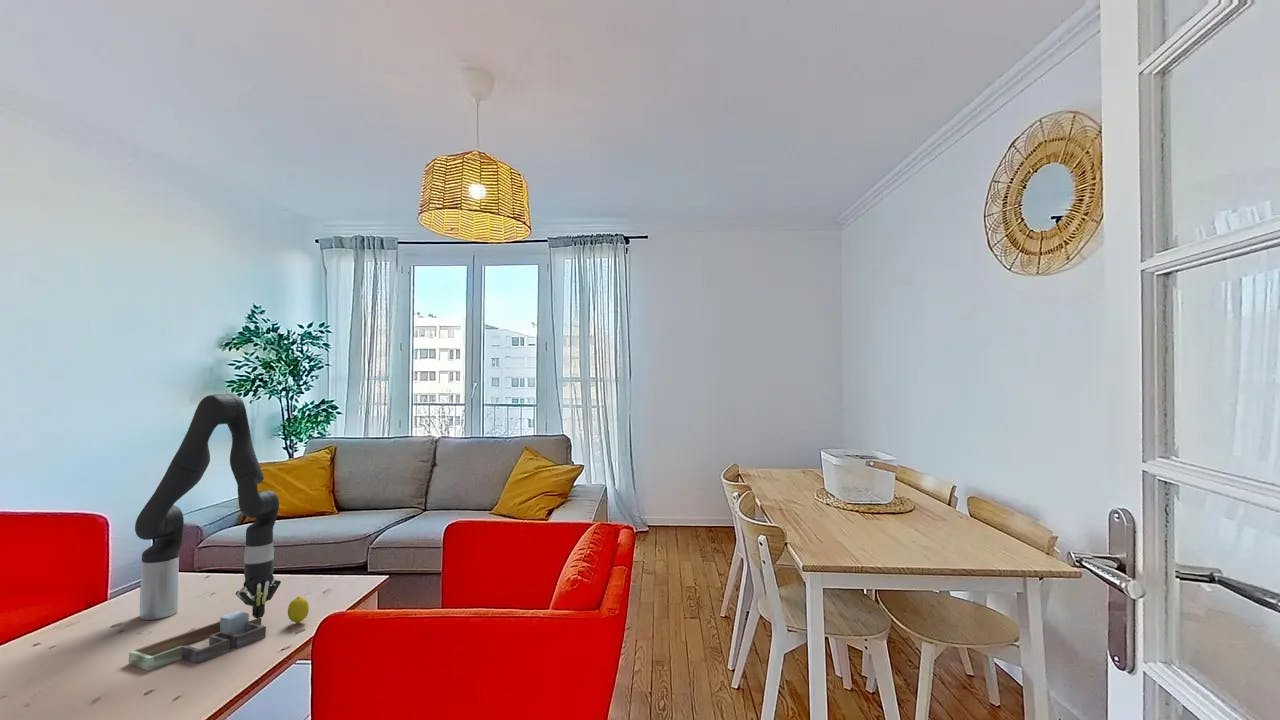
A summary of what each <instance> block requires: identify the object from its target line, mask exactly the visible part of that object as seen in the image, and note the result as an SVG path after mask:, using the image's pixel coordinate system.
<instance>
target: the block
mask: <svg viewBox="0 0 1280 720" xmlns="http://www.w3.org/2000/svg"><path fill="white" fill-rule="evenodd" d="M249 615H250V614H249V613H247V612H243V611H238V610H237V611H234V612H231V613H227V614H225V615H222V616H219V618H220V619H219V621H220V632H229V633H233V634H237V635H240V634H243V633H245V632H246V622H249V621H250V620H249V617H250V616H249Z"/></svg>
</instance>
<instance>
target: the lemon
mask: <svg viewBox="0 0 1280 720" xmlns="http://www.w3.org/2000/svg"><path fill="white" fill-rule="evenodd" d="M309 610H310V609H309V602H308V600H307V599H306V598H304V597H301V596H297V597H296V598H294V599H292V600H291V601H290V603H289V605H288V608H287V616H288V619H289V620H290V621H291V622H293V623H295V624H297V625H298V624H301V622H302V621H304V620H306V618H307V616H308V614H309Z"/></svg>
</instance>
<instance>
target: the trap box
mask: <svg viewBox="0 0 1280 720" xmlns="http://www.w3.org/2000/svg"><path fill="white" fill-rule="evenodd" d="M266 631H267V629H266V625H262V617H261V618H254V619H251V620H249V622H246V632H244V633H241V634H238V635H237V634H233V633H229V632H220V620H218V621H216V622H213V623H211V624H207V625H204V626H201V627H198V628H196V629H192V630H190V631H187V632H186V631H185V632H184V633H180V634H178V635H175V636H173V637H169V638H166V639H164V640H160V641H157V642H155V643H151V644H149V645H146V646H143V647H139V648H137V649H134V650H131V651H129V653H128V665H130V666H134V667H137V668H140V669H143V670H146V671H151V670H152V671H153V670H155V669H158V668H160V667H162V666H165V665H167V664H171V663H174V662H176V661H178V660H186V661H189V662H193V663H195V664H200V663H202V662H206V661H208V660H211V659H213V658H216V657H218V656H221V655H224V654H226V653H228V652H231V651H230V649H231V648H235V649H239V648H241V647H243V646H244V647H245V646H247V645H249V644H252V643H254V642H256V641H260V640H262V639H265V638H266V637H267V636H266ZM206 638H208V640H209V641H208V643H209V645H208V646H205V647H203V648H197V647H193V646H189V644H193V643H195V642H198V641H201V640H204V639H206Z"/></svg>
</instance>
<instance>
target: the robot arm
mask: <svg viewBox="0 0 1280 720" xmlns="http://www.w3.org/2000/svg"><path fill="white" fill-rule="evenodd" d="M191 419H192V420H191V422H190V425H189V427H188V430H187V431H186V434H185V435H184V437H183V439H182V442H181V444H180V445H179V448H178V450H177V451H176V453H175V455H174V456H173V458H172V460H171V462H169V463H170V464H169V465H168V468H167V470H166V472H165V474H164V476H163V477H162V478H161V480H160V482H159V484H158V486H157V488H156V489H155V491H154V493H153V494H152V495H151V497H150V498H149V500H148V501H147V502H146V503H145V505H144V507H143V508H142V509H141V511H140V513H139V514H138V516H137V517H136V521H135V524H134V532H135V534H136V536H137V538H139V539H140V540H144V541H149V540H155V539H156V540H155V542H153V544H152V545H151V546H149V547H148V548H147V549H145V550H144V551H142V553H141V577H140V580H141V581H140V586H139V587H140V588H139V589H140V590H139V591H140V593H139V616H140V617H139V618H140V619H141V620H143V621H144V620H145V621H149V620H151V621H152V620H158V619H164V618H168V617H170V616H173V615H175V614H177V613H178V610H179V609H178V607H179V605H178V604H179V570H180V569H179V568H180V567H179V566H180V565H179V563H180V561H179V560H180V550H181V549H182V546H183V538H184V537H183V536H184V525H185V523H184V521H185V519H184V518H185V517H184V514H183V512H182V510H181V508H179V506H178V505H174V504H175V503H177V502H178V501H179V500H180V499H181V498H182V497H184V496H185V495H186V494H187V493H188V492H189V491H191V490H192V489H193V488H194V487H195V486H196V485H197V484H198V483H199V482H200V480H201V479H202V478H203V477H204V475H205V472H206V470H207V468H208V467H209V464H210V462H211V461H210V460H211V452H210V448H209V447H210V446H209V441H210V438H211V436H212V435H213V433H214V430H215V429H216V428H217V427H218V426H219V425H227V427H228V430H229V431H230V434H231V449H230V456H229V465H230V469H231V471H232V474H233V476H234V479H235V481H236V484H237V498H238V499H237V502H238V507H239V510H240V512H241V513H242V515H244V516H245V517H246V518H249V519H255V520H254V521H253V522H252V523H251V524H250V525H249V526H248V527H247V528H246V530H245V549H244V559H243V560H244V563H243V564H244V565H243V566H244V568H243V569H244V570H243V572H244V573H243V576H244V582H243V587H242V588H241V589H240V590H237V591H236V592H235V595H236V596H237V597H238V598H239V599H240V600H241V601H242V602H243V603H244V605H245V606H250V607H252V616H253V618H254V619H257V618H261V619H262V618H263V617H264V615H265V612H266V611H265V610H266V608H265V607H266V606H265V605H266V603H267V602H268V601H270V600H272V598H273V597H274V595H275V593H276V591H277V590H278V588H279V587H280V585H281V583H282V582H281V580H277V579H275V578H274V577H275V576H274V571H275V570H274V562H275V561H274V559H275V558H274V555H275V554H274V553H275V549H274V526H275V523H276V520H277V517H278V513H279V509H280V500H279V497H278V495H277V494H276V492H274V491H272V490H262V491H260V492H259V490H258V489H259V488H258V485H260V484H261V483H263V481H264V480H265V478H264V476H265V475H264V474H263V471H262V468H261V465H260V463H259V460H258V458H257V456H256V452H255V449H254V445H253V440H252V436H251V429H250V424H249V419H248V415H247V410H246V406H245V403H244V400H243V399H242V398H241V396H239V395H238V394H235V393H221V394H220V393H219V394H209V395H207V396H205V397H203V398H202V399H201V400H200V401H199V403H198V405H197V407H196V409H195V412H194V413H193V416H192V418H191ZM248 593H249V595H248Z"/></svg>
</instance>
